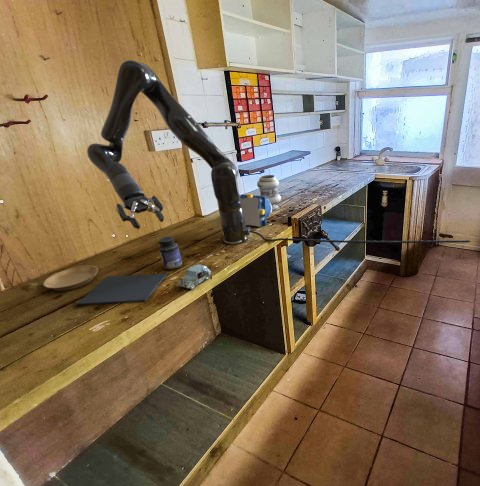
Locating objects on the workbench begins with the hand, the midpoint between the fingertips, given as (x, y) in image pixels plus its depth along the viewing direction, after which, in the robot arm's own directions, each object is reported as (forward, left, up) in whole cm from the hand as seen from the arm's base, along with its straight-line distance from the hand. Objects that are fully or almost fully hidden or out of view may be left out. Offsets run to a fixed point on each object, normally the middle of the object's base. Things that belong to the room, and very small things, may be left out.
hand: (150, 224), depth 113 cm
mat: (+3, +20, -15) cm, 25 cm away
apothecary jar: (-36, -59, -15) cm, 71 cm away
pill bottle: (-7, +6, -15) cm, 18 cm away
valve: (-31, -38, -15) cm, 51 cm away
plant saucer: (+23, +14, -15) cm, 31 cm away
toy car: (-20, +19, -15) cm, 31 cm away
